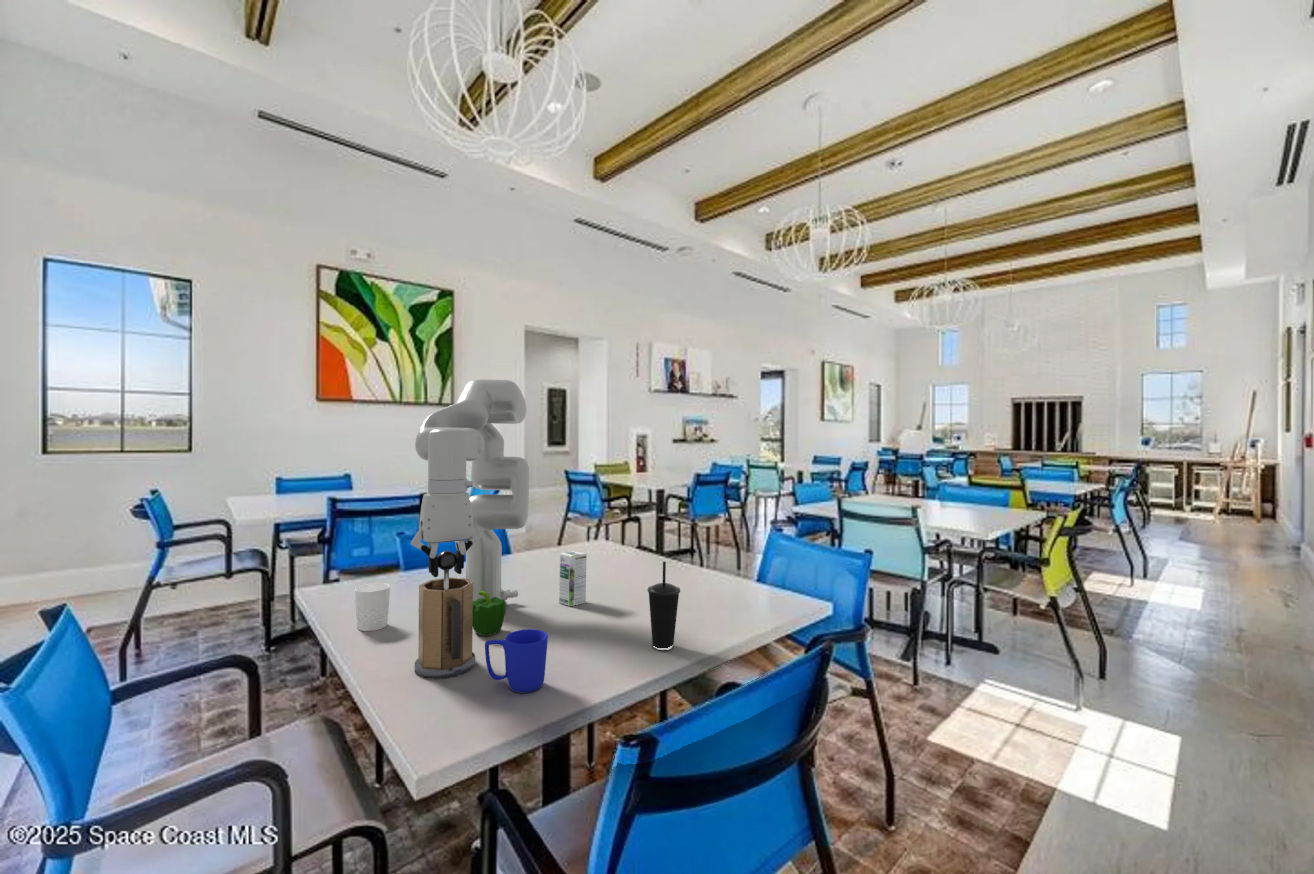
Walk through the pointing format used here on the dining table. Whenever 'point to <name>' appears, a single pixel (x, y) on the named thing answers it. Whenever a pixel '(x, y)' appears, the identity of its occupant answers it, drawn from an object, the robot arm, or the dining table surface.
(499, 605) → the bell pepper
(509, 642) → the mug
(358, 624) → the white cup
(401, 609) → the dining table surface
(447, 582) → the plunger
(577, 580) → the syrup box
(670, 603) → the drinking cup
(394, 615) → the dining table surface
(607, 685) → the dining table surface
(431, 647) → the tan octagonal hollow container
